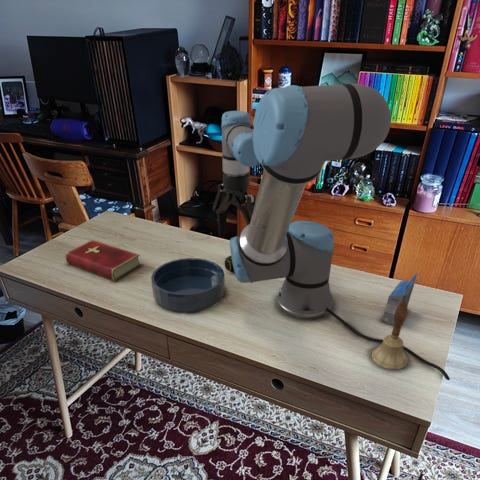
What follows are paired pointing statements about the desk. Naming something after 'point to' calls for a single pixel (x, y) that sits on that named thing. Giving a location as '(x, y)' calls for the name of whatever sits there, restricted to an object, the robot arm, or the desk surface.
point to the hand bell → (393, 344)
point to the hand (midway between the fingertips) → (236, 241)
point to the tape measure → (229, 264)
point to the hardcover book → (103, 259)
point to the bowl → (188, 284)
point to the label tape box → (398, 298)
